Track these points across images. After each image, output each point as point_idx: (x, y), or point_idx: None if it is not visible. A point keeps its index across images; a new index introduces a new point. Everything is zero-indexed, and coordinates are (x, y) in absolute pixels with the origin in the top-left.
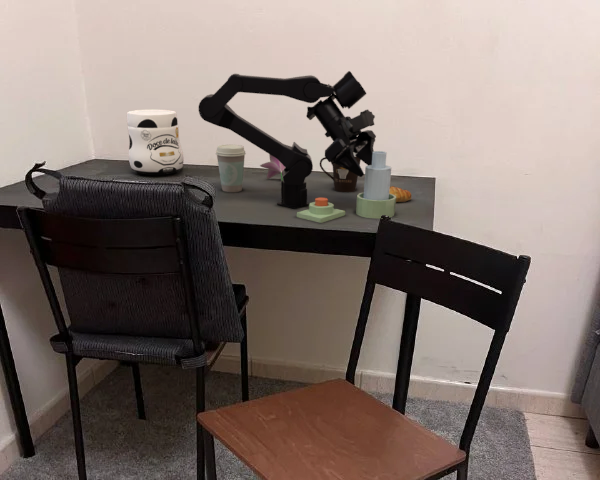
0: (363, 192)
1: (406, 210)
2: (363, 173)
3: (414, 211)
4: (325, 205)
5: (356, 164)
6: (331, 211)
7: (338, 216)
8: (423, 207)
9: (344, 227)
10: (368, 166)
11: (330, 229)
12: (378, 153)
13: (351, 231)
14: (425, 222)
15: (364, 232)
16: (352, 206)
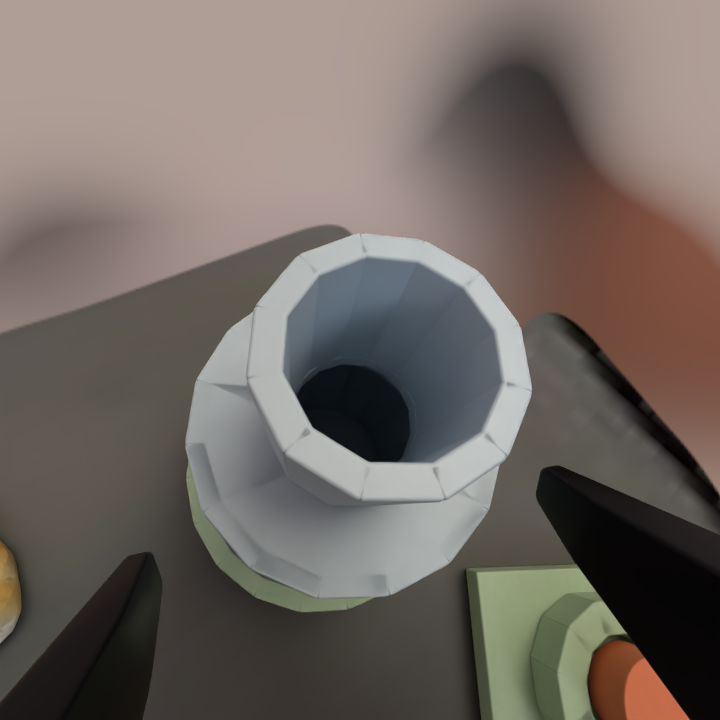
0: (297, 604)
1: (143, 384)
2: (556, 469)
3: (139, 344)
4: (629, 644)
5: (712, 535)
6: (582, 594)
7: (523, 567)
8: (17, 347)
9: (595, 435)
10: (418, 534)
11: (659, 460)
12: (504, 307)
13: (605, 382)
14: (293, 237)
15: (573, 340)
16: (260, 703)
